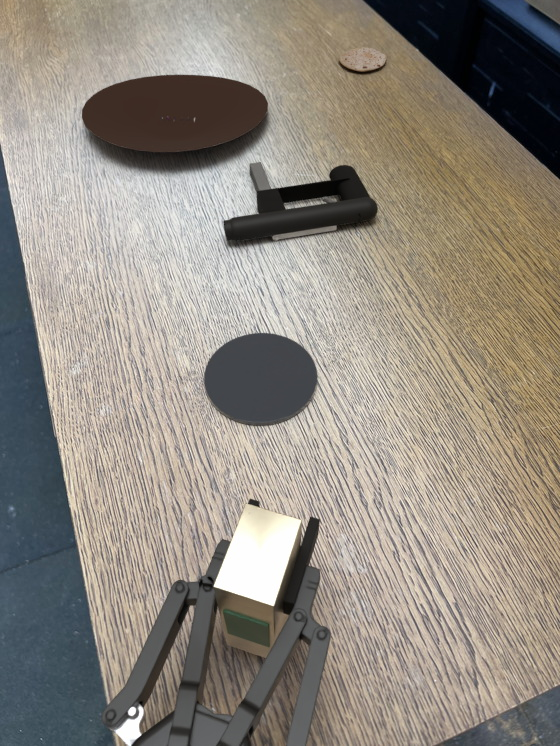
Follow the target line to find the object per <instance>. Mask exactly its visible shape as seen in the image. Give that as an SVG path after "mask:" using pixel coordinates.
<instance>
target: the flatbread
mask: <svg viewBox="0 0 560 746" xmlns="http://www.w3.org/2000/svg"><path fill="white" fill-rule="evenodd" d="M387 59H388V57H387V54H386V53H382V52H381V51H379V50H377V49H375V48H372V47H369V46H368V47H366V46H365V47H356V48H352V49H347V50H345V51H344V52H342V53H340V54H339V56H338V61H339V62H340V64H341V65H342V66H344V67H345V68H347V69H349V70H352V71H356V72H361V73H362V72H363V73H364V72H370V71H374V70H376V69H377V70H378V69H379V68H381V67H383V66H384V65H385V64H386V63H387Z"/></svg>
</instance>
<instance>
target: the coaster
mask: <svg viewBox="0 0 560 746" xmlns="http://www.w3.org/2000/svg"><path fill="white" fill-rule="evenodd" d="M203 382H204V383H203V384H204V391H205V394H206V396H207V398H208V400H209V402H210V403H211V405H212V406H213V407H214V409H216V410H217V412H219V413H220V414H221V415H222V416H225V417H226V418H228V419H229V420H232V421H233V422H237V423H240V424H243V425H249V426H259V427H260V426H272V425H276V424H280V423H283V422H285V421H289V420H290V419H291V418H294V417H295V416H297V415H298V414H300V413H301V412H302V411H303V410H304V409H305V408H306V407H307V406H308V405H309V404H310V402H311V401H312V400H313V398H314V395H315V393H316V390H317V385H318V370H317V366H316V363H315V361H314V359H313V357H312V356H311V354H310V353H309V352H308V351H307V349H306V348H305V347H304V346H303V345H301V344H299V343H298V342H297V341H295V340H293V339H292V338H289V337H286V336H284V335H280V334H276V333H272V332H271V333H270V332H255V333H248V334H243V335H240V336H237V337H235V338H232V339H230V340H228V341H227V342H225V343H224V344H223V345H221V346H220V347H219V348H218V349H217V350H215V351H214V353H213V354H212V355H211V357H210V358H209V360H208V362H207V363H206V366H205V370H204V376H203Z"/></svg>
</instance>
